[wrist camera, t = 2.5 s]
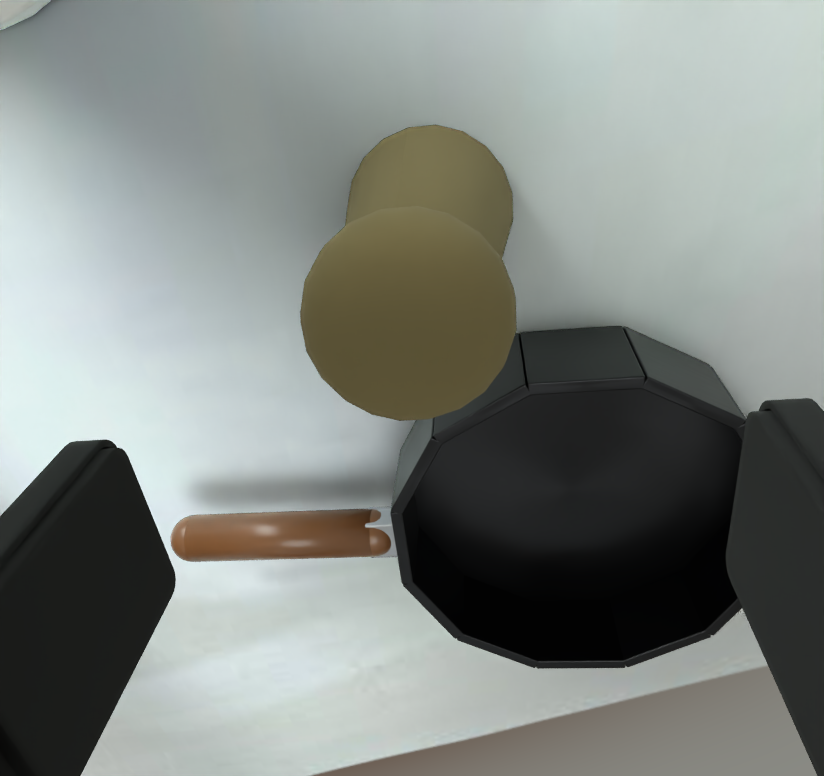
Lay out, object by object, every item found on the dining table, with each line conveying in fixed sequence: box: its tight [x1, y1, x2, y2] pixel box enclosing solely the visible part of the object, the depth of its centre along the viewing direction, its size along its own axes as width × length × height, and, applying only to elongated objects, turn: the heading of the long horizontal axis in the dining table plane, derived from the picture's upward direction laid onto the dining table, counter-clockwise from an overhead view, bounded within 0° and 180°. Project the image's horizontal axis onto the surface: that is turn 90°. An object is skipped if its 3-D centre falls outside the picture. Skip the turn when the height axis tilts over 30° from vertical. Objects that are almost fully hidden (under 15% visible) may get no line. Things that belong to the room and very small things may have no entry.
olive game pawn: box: [300, 125, 516, 421], centre depth 19 cm, size 6×6×11 cm
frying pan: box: [171, 326, 746, 668], centre depth 28 cm, size 25×15×4 cm, turn 97°
